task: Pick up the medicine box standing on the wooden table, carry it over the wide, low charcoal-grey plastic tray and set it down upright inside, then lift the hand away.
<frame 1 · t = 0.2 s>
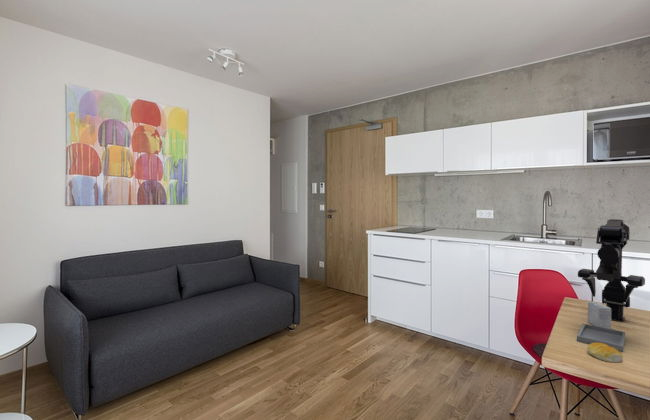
hand: (609, 299, 125), 14 cm above the table, tool pointing down, fingers open, 9 cm apart
bread roll: (604, 357, 109), on the table
tray: (601, 339, 122), on the table
medicine box: (599, 326, 136), on the table
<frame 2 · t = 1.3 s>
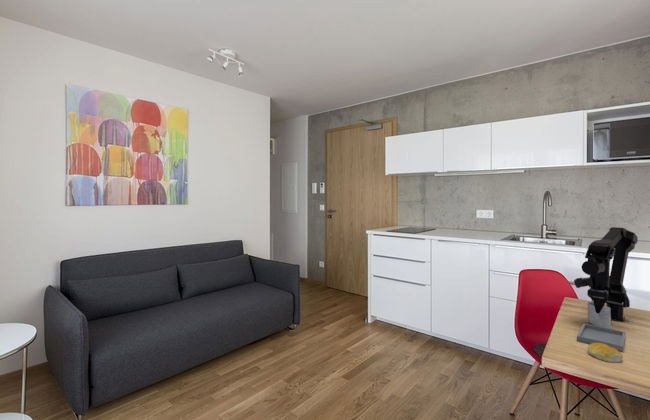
hand: (598, 310, 135), 6 cm above the table, tool pointing down, fingers open, 9 cm apart
medicine box: (599, 326, 136), on the table, touching gripper
everything else where it was.
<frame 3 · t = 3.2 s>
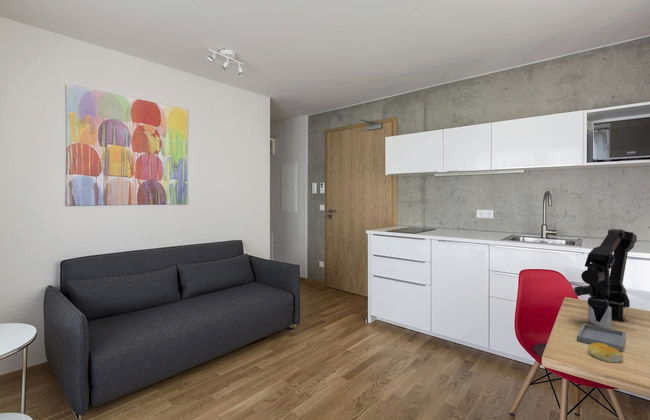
hand: (599, 318, 136), 3 cm above the table, tool pointing down, fingers closed on medicine box, 9 cm apart
medicine box: (599, 325, 136), on the table, touching gripper
everything else where it was.
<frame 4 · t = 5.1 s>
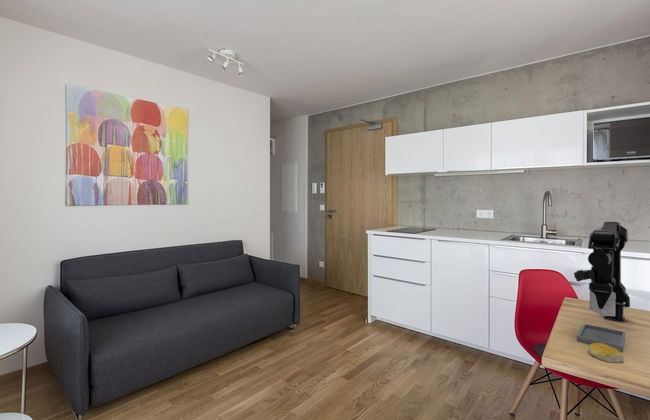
hand: (601, 306, 122), 12 cm above the table, tool pointing down, fingers closed on medicine box, 9 cm apart
medicine box: (601, 313, 122), point 10 cm above the table, touching gripper
everything else where it was.
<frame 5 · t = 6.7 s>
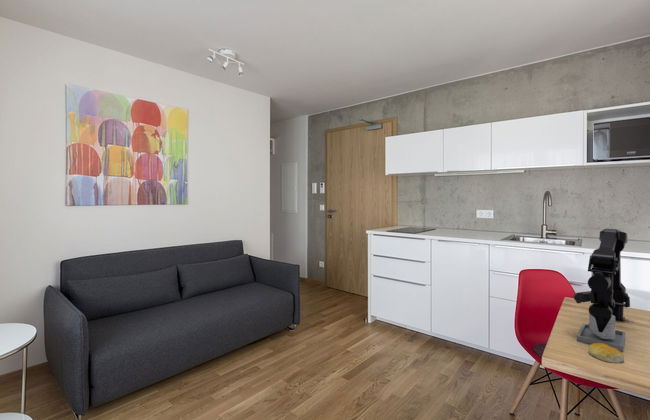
hand: (601, 328, 122), 4 cm above the table, tool pointing down, fingers closed on medicine box, 9 cm apart
medicine box: (601, 335, 122), point 1 cm above the table, touching gripper
everything else where it was.
when the fingers open (4 cm above the table, at t = 7.7 s): medicine box stays where it is, resting on tray.
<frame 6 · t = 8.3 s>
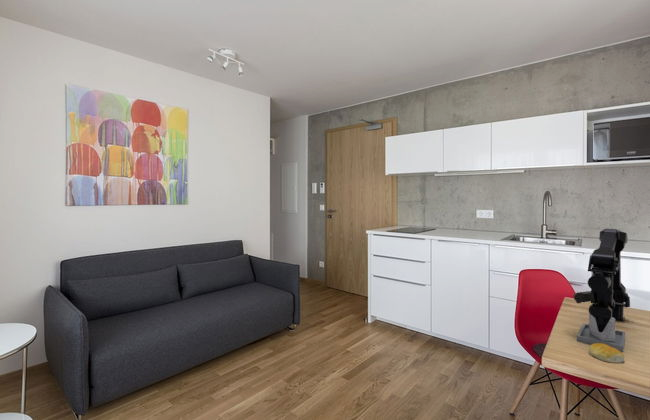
hand: (601, 328, 122), 4 cm above the table, tool pointing down, fingers open, 9 cm apart
medicine box: (601, 338, 122), resting on tray, touching gripper
everything else where it was.
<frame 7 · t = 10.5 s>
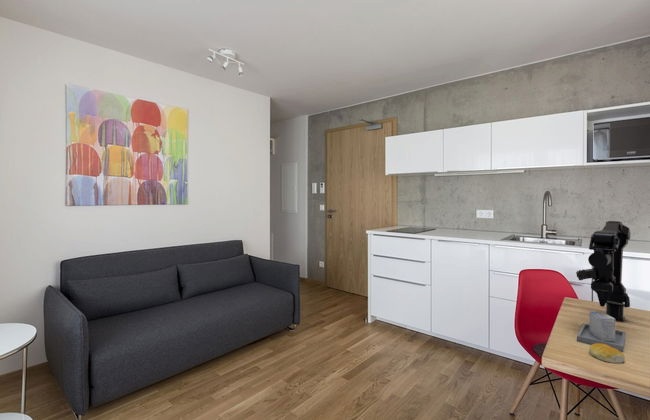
hand: (603, 303, 129), 11 cm above the table, tool pointing down, fingers open, 9 cm apart
medicine box: (601, 338, 122), resting on tray
everything else where it was.
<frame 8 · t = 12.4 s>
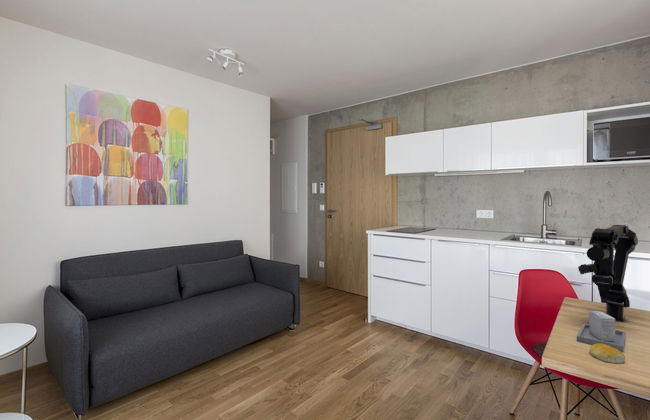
hand: (603, 296, 136), 12 cm above the table, tool pointing down, fingers open, 9 cm apart
nothing on the table moved.
at the end: medicine box inside the target area on the tray (0.1 cm from its centre), point 0.4 cm above the tray's base; medicine box tilted 0°; the gripper is holding nothing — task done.
